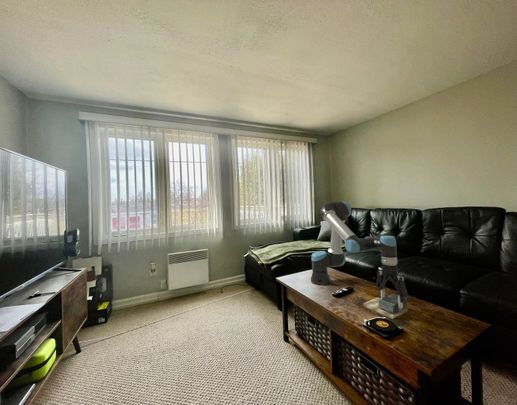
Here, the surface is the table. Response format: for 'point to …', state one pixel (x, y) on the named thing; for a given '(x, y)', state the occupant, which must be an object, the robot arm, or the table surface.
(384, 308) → the stone block
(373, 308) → the board
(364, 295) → the table surface
